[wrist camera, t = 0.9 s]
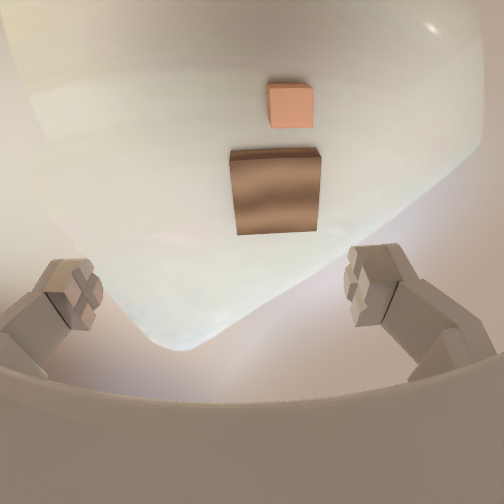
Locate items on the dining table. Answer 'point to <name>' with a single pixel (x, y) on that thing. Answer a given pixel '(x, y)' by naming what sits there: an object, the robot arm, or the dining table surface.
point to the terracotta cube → (290, 105)
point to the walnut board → (275, 190)
